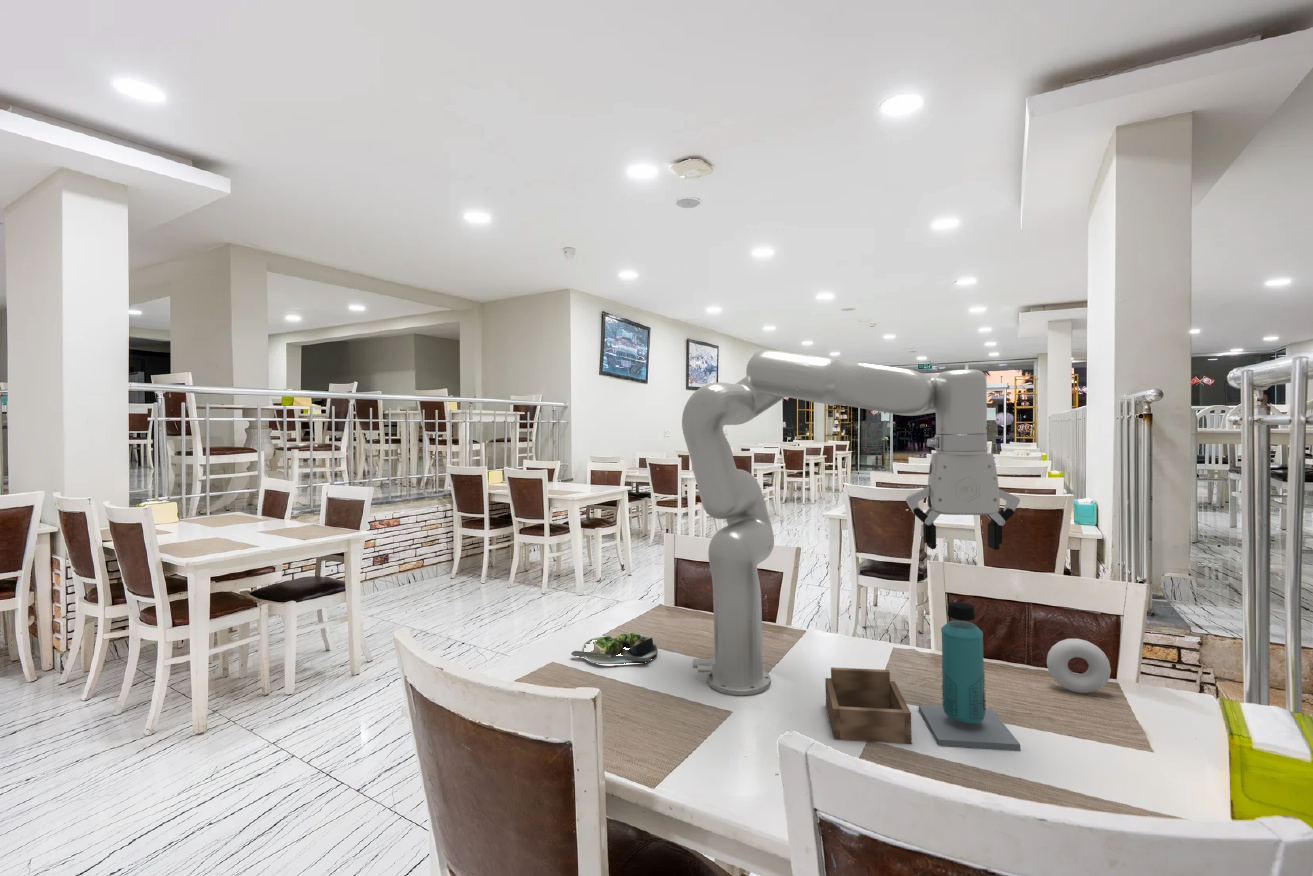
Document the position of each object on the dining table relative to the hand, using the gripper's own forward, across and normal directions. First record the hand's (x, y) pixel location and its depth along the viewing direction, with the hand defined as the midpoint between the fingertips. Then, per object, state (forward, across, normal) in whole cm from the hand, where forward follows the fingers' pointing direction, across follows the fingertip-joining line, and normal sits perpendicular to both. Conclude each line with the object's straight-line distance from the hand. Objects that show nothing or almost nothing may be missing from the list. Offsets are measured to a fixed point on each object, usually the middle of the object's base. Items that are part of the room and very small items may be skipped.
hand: (962, 548), depth 100 cm
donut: (+31, +25, +17) cm, 43 cm away
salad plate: (+31, -65, +26) cm, 76 cm away
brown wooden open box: (+30, -16, 0) cm, 34 cm away
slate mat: (+30, 0, 0) cm, 30 cm away
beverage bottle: (+30, 0, 0) cm, 30 cm away
